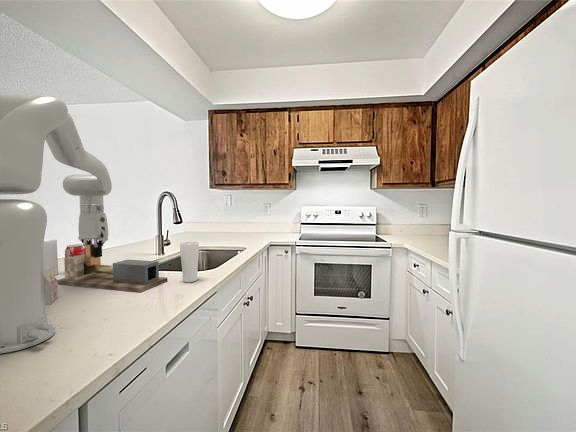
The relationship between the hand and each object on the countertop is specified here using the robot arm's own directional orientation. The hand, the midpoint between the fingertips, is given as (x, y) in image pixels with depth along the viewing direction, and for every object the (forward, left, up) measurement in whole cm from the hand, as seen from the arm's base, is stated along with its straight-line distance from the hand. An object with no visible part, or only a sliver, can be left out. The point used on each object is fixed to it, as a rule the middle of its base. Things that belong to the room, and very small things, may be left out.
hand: (93, 256), depth 112 cm
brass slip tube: (-6, 0, -6) cm, 8 cm away
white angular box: (-7, +22, -10) cm, 25 cm away
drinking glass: (-36, -10, -10) cm, 38 cm away
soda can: (+19, -8, -10) cm, 23 cm away
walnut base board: (-9, 0, -10) cm, 13 cm away
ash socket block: (+5, 0, -8) cm, 10 cm away
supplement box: (+28, 0, -10) cm, 30 cm away
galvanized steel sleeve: (-20, 0, -8) cm, 21 cm away
